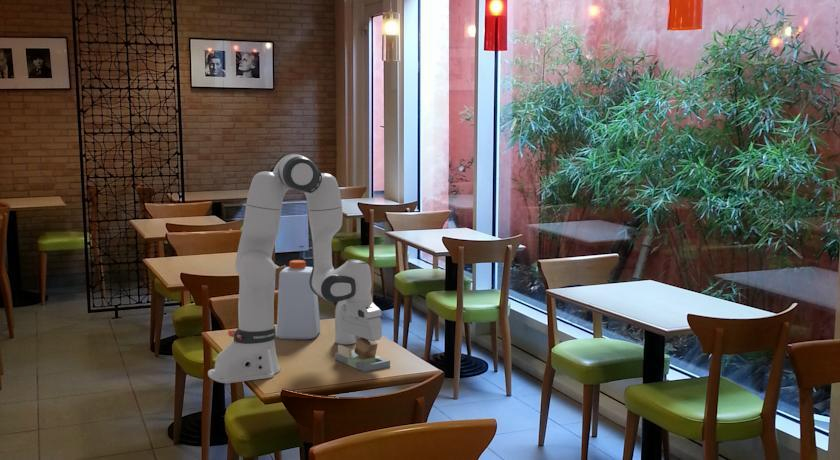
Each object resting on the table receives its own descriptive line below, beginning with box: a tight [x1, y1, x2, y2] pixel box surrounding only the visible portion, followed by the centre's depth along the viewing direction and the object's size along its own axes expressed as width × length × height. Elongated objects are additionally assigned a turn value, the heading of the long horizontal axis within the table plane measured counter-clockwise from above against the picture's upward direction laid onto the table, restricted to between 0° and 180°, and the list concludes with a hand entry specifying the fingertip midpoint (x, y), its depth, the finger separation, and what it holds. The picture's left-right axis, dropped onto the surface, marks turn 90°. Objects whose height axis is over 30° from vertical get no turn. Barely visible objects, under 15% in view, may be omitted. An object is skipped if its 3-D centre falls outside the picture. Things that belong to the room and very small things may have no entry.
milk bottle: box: [334, 300, 356, 346], centre depth 300 cm, size 8×8×20 cm
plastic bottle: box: [275, 259, 321, 341], centre depth 309 cm, size 15×15×28 cm
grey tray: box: [334, 344, 391, 373], centre depth 276 cm, size 10×18×5 cm, turn 36°
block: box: [354, 338, 378, 359], centre depth 275 cm, size 5×5×5 cm
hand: (360, 348), depth 278 cm, fingers closed, pressing on block
